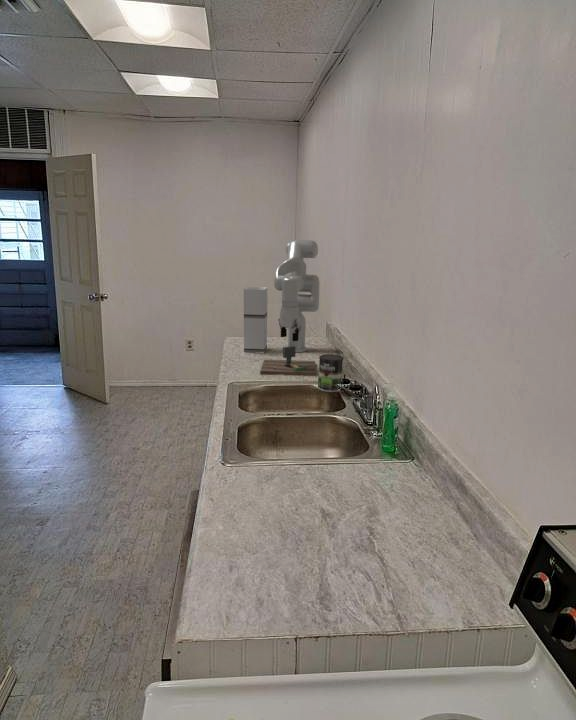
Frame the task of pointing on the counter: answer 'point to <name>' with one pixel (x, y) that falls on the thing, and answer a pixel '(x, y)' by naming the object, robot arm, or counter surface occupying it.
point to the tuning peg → (289, 355)
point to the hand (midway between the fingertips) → (289, 338)
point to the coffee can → (330, 372)
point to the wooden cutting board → (288, 367)
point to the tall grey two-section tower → (255, 319)
